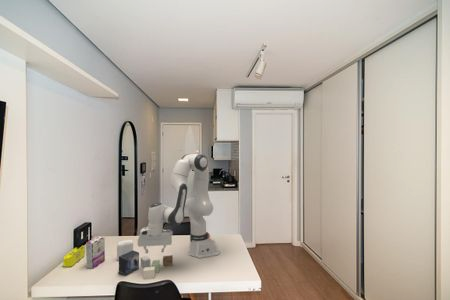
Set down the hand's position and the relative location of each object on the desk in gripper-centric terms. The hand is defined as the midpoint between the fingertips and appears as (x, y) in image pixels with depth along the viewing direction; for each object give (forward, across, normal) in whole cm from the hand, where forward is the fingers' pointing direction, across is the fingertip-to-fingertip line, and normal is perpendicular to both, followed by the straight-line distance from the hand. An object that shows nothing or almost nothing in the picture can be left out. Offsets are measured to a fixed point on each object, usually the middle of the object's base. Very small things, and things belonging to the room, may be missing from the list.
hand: (154, 252), depth 145 cm
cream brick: (+12, +2, +6) cm, 13 cm away
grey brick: (+11, +6, -8) cm, 15 cm away
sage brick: (+11, -1, 0) cm, 11 cm away
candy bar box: (+12, +38, -16) cm, 43 cm away
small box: (+12, +15, -3) cm, 19 cm away
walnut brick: (+11, -8, -6) cm, 15 cm away
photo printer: (+12, +21, -21) cm, 32 cm away
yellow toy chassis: (+13, +53, -23) cm, 59 cm away
